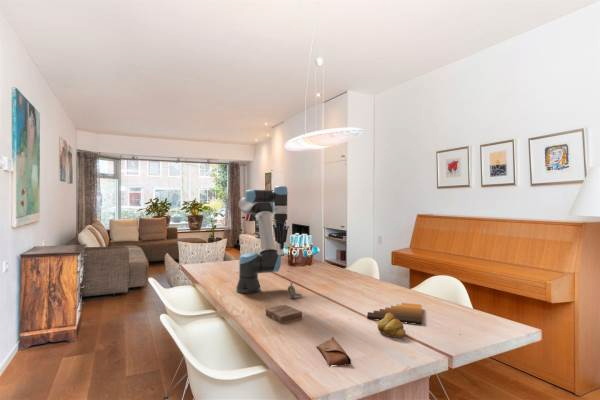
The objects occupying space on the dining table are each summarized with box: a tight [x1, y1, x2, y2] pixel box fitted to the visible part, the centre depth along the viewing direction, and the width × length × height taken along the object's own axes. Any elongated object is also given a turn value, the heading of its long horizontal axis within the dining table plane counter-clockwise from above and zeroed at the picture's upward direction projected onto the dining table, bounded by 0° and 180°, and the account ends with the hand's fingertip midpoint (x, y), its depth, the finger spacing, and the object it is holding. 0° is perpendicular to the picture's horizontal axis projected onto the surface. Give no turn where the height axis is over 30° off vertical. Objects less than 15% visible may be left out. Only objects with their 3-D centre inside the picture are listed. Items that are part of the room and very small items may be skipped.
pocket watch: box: [287, 281, 303, 299], centre depth 204 cm, size 8×8×10 cm
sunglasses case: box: [315, 336, 352, 367], centre depth 130 cm, size 18×7×7 cm
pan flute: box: [366, 302, 423, 325], centre depth 176 cm, size 25×3×25 cm
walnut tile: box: [265, 304, 303, 325], centre depth 171 cm, size 4×12×14 cm
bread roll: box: [377, 312, 407, 339], centre depth 150 cm, size 13×10×8 cm
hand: (280, 254), depth 198 cm, fingers closed
